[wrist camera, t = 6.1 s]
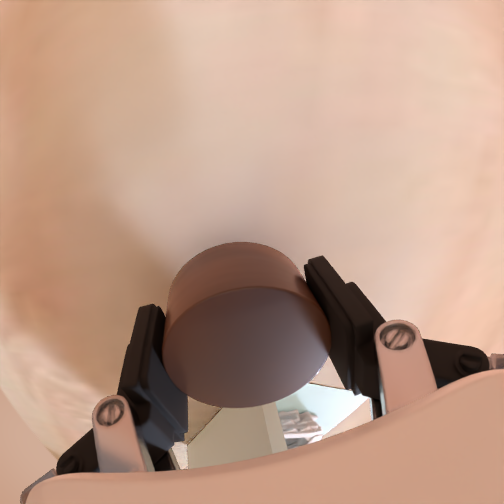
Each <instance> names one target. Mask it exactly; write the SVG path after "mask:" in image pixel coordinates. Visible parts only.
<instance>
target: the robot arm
mask: <svg viewBox="0 0 504 504" xmlns="http://www.w3.org/2000/svg"><path fill="white" fill-rule="evenodd" d="M304 271H305V277H306V283H307V285H308V286H309V288H310V290H311V291H312V293H313V295H314V296H315V298H316V300H317V301H318V303H319V305H320V306H321V308H322V310H323V311H324V313H325V315H326V317H327V319H328V321H329V324H330V331H331V349H330V352H329V357H330V359H331V361H332V363H333V365H334V367H335V369H336V371H337V373H338V375H339V377H340V379H341V381H342V383H343V385H344V387H345V389H346V390H349V389H351V390H352V392H353V394H354V396H356V395H359V394H362V396H366V397H369V399H370V410H371V421H370V422H368V423H365V424H363V425H360V426H358V427H355V428H353V429H350V430H348V431H345V432H342V433H340V434H337V435H334V436H331V437H328V438H325V439H322V440H319V441H316V442H313V443H310V444H306V445H303V446H300V447H296V448H293V449H289V450H286V451H282V452H278V453H274V454H270V455H266V456H262V457H257V458H253V459H248V460H243V461H238V462H232V463H227V464H221V465H214V466H207V467H200V468H192V469H183V470H180V467H179V465H178V462H177V460H176V458H175V455H174V453H173V450H172V448H171V447H172V446H173V445H174V442H180V441H184V433H186V432H188V397H187V395H186V394H185V393H183V392H182V391H181V390H180V389H179V388H177V387H176V386H175V384H174V383H173V382H172V380H171V379H170V377H169V376H168V374H167V372H166V371H165V368H164V366H163V361H162V343H163V335H164V327H165V319H166V317H165V315H164V313H163V311H162V309H161V307H160V306H157V307H156V306H155V305H154V304H150V305H146V306H142V307H139V310H138V313H137V317H136V321H135V325H134V329H133V333H132V337H131V341H130V344H129V345H128V347H127V350H126V354H125V359H124V363H123V368H122V372H121V377H120V382H119V387H118V392H117V395H111V396H107V397H106V398H104V399H102V400H101V401H100V402H99V403H98V404H97V405H96V406H95V408H94V410H93V413H92V423H93V428H92V429H91V430H90V431H89V432H87V433H86V434H85V435H84V436H83V437H82V438H81V439H80V440H78V441H77V442H76V443H75V444H74V445H73V446H72V447H70V448H69V449H68V450H67V451H66V452H65V453H64V454H63V455H62V456H61V457H60V458H59V460H58V462H57V467H56V470H55V469H52V470H50V471H49V472H48V473H46V474H45V475H43V476H42V477H41V478H39V479H38V480H37V481H35V482H34V483H33V484H31V485H30V486H28V487H27V488H26V489H25V490H24V491H23V492H22V494H21V497H20V503H21V504H504V354H491V356H490V357H487V355H486V354H485V353H484V352H483V351H481V350H480V349H478V348H475V347H471V346H465V345H458V344H452V343H446V342H440V341H434V340H428V339H422V337H421V334H420V332H419V330H418V328H417V327H416V326H415V325H413V324H412V323H410V322H408V321H404V320H391V321H388V322H386V321H385V320H384V318H383V317H382V316H381V315H380V313H379V312H378V311H377V310H376V308H375V307H374V306H373V305H372V303H371V302H370V301H369V300H368V299H367V297H366V296H365V295H364V294H363V292H362V291H361V290H360V289H359V288H358V286H357V285H356V284H355V283H354V282H350V283H347V284H345V282H344V281H343V280H342V279H341V277H340V276H339V275H338V274H337V272H336V271H335V270H334V269H333V267H332V266H331V265H330V264H329V262H328V261H327V260H326V259H325V257H324V256H319V257H315V258H312V259H309V260H308V264H306V265H304Z"/></svg>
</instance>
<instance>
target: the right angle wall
mask: <svg viewBox="0 0 504 504" xmlns="http://www.w3.org/2000/svg"><path fill="white" fill-rule="evenodd" d="M367 398H369V397H366V396H362V394H359V395H356V396H354V394H353V392H352V391H349V390H343V389H337V388H331V387H326V386H320V385H315V384H310V383H307V384H306V385H305V386H304V387H302V388H301V389H299V390H298V391H296V392H295V393H293V394H291V395H289V396H287V397H285V398H283V399H281V400H278V401H275V402H272V403H269V404H265V405H261V406H256V407H249V408H224V407H223V408H222V409H221V410H220V411H219V412H218V413H217V414H216V416H215V417H214V418H213V419H212V420H211V421H210V422H209V423H208V424H207V425H206V426H205V428H204V429H203V430H202V431H201V432H200V433H199V434H198V435H197V436H196V437H195V438H194V439H193V440H192V441H191V442H190V443H189V444H188V445H187V453H188V469H192V468H200V467H207V466H214V465H221V464H227V463H232V462H238V461H243V460H248V459H253V458H257V457H262V456H266V455H270V454H274V453H278V452H282V451H286V450H289V449H293V448H296V447H300V446H303V445H306V444H310V443H313V442H316V441H319V440H322V439H321V437H322V436H324V435H325V434H326V433H327V432H329V431H330V430H331V429H333V428H334V427H335V426H336V425H337V424H339V423H340V422H341V421H342V420H344V419H345V418H346V417H347V416H348V415H349V414H351V413H352V412H353V411H354V410H355V409H356V408H357V407H359V406H360V405H361V404H362V403H363V402H364V401H365V400H366V399H367Z"/></svg>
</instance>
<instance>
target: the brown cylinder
mask: <svg viewBox="0 0 504 504" xmlns="http://www.w3.org/2000/svg"><path fill="white" fill-rule="evenodd" d="M330 349H331V331H330V324H329V321H328V319H327V317H326V315H325V313H324V311H323V310H322V308H321V306H320V305H319V303H318V301H317V300H316V298H315V296H314V295H313V293H312V291H311V290H310V288H309V286H308V285H307V283H306V281H305V280H304V278H303V276H302V275H301V273H300V271H299V270H298V268H297V267H296V266H295V264H294V263H293V262H292V261H291V260H290V259H289V258H288V257H286V256H285V255H284V254H282V253H281V252H279V251H277V250H275V249H273V248H271V247H268V246H266V245H262V244H257V243H250V242H233V243H226V244H222V245H218V246H215V247H212V248H210V249H207V250H205V251H203V252H201V253H200V254H198V255H196V256H195V257H194V258H192V259H191V260H190V261H188V262H187V263H186V264H185V265H184V266H183V267H182V269H181V270H180V271H179V272H178V274H177V275H176V277H175V279H174V281H173V283H172V286H171V288H170V292H169V297H168V304H167V311H166V319H165V327H164V335H163V343H162V361H163V366H164V368H165V371H166V372H167V374H168V376H169V377H170V379H171V380H172V382H173V383H174V384H175V386H176V387H177V388H179V389H180V390H181V391H182V392H183V393H185V394H186V395H188V396H189V397H191V398H193V399H195V400H197V401H200V402H203V403H205V404H209V405H213V406H218V407H224V408H249V407H256V406H261V405H265V404H269V403H272V402H275V401H278V400H281V399H283V398H285V397H287V396H289V395H291V394H293V393H295V392H296V391H298V390H299V389H301V388H302V387H304V386H305V385H306V384H307V383H309V382H310V381H311V380H312V379H313V378H314V377H315V376H316V375H317V373H318V372H319V371H320V370H321V368H322V367H323V365H324V364H325V362H326V360H327V357H328V355H329V352H330Z"/></svg>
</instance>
